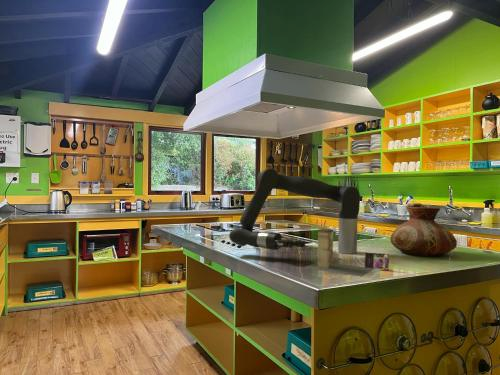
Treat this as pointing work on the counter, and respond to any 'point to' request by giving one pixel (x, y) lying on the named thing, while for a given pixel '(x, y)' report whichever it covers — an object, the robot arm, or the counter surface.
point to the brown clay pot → (423, 233)
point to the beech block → (325, 248)
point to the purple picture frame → (379, 263)
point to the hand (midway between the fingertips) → (304, 244)
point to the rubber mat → (342, 269)
